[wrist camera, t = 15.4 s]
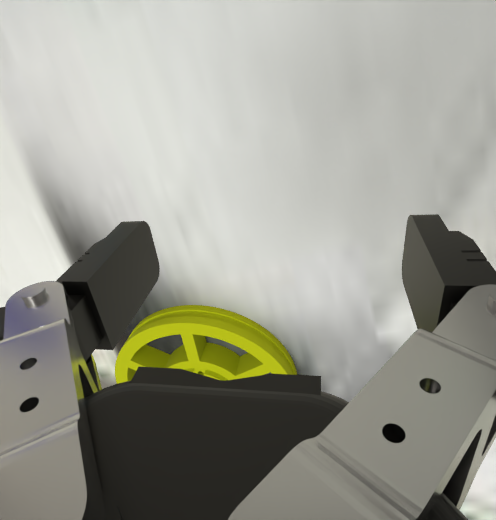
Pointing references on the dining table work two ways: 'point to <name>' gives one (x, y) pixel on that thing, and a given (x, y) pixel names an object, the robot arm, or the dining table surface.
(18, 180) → the dining table surface
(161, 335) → the pulley
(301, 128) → the dining table surface
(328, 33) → the dining table surface
